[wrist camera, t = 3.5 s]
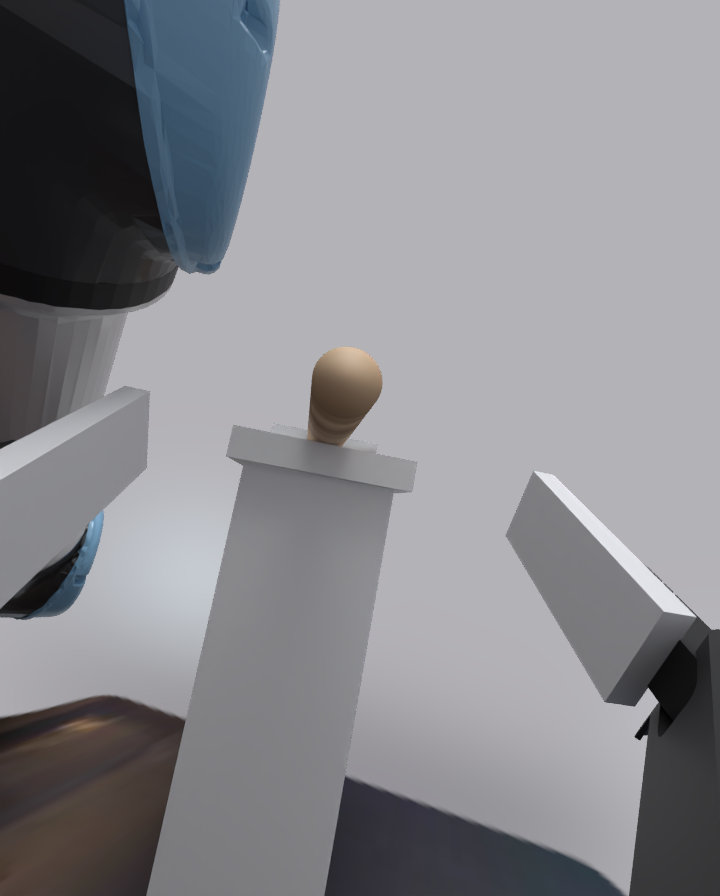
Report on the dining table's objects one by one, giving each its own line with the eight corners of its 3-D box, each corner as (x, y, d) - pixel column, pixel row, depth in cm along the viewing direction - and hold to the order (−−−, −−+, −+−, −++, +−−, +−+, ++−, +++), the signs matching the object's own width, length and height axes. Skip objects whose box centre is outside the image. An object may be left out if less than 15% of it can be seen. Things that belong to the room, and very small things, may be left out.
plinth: (329, 989, 23) (417, 462, 28) (104, 977, 22) (233, 424, 26) (319, 807, 37) (378, 474, 41) (180, 793, 36) (257, 450, 40)
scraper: (443, 436, 18) (453, 370, 19) (232, 392, 17) (248, 323, 18) (364, 471, 41) (370, 441, 41) (272, 452, 40) (278, 422, 40)
